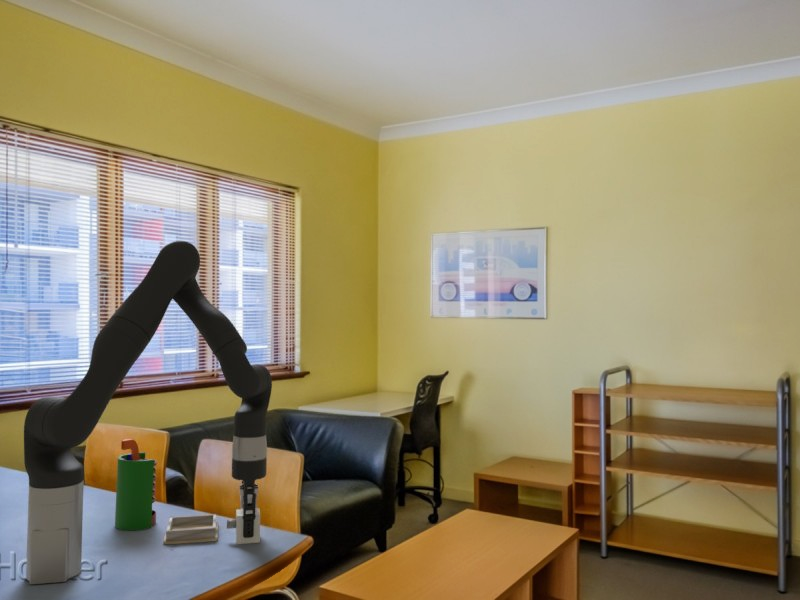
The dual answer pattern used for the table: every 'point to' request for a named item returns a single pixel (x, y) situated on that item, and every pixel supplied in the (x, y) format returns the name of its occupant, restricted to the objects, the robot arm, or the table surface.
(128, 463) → the green cutaway cylinder
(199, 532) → the mount pocket
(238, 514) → the cream cube on peg
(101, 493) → the table surface
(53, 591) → the table surface
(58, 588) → the table surface
